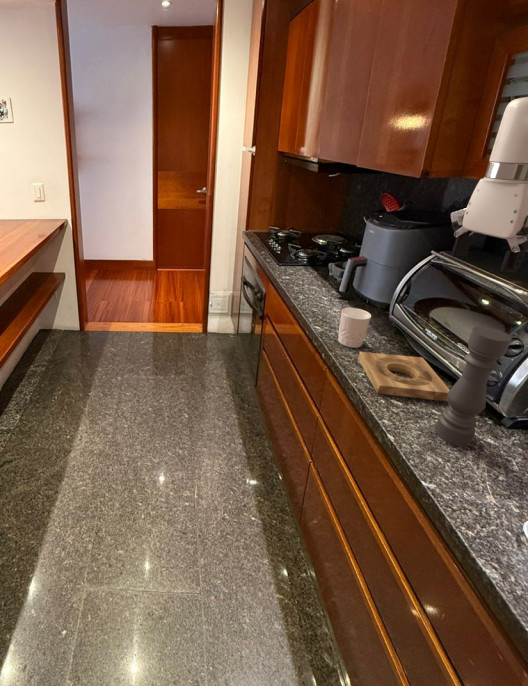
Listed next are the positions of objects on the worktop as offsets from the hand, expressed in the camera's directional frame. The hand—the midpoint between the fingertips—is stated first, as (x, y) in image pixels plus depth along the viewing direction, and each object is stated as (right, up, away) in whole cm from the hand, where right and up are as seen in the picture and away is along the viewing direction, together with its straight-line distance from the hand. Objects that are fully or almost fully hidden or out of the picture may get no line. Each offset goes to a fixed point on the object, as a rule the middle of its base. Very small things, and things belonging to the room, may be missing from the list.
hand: (482, 263), depth 76 cm
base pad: (+1, -29, +26) cm, 39 cm away
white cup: (-3, -22, +43) cm, 49 cm away
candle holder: (0, -37, +7) cm, 38 cm away
